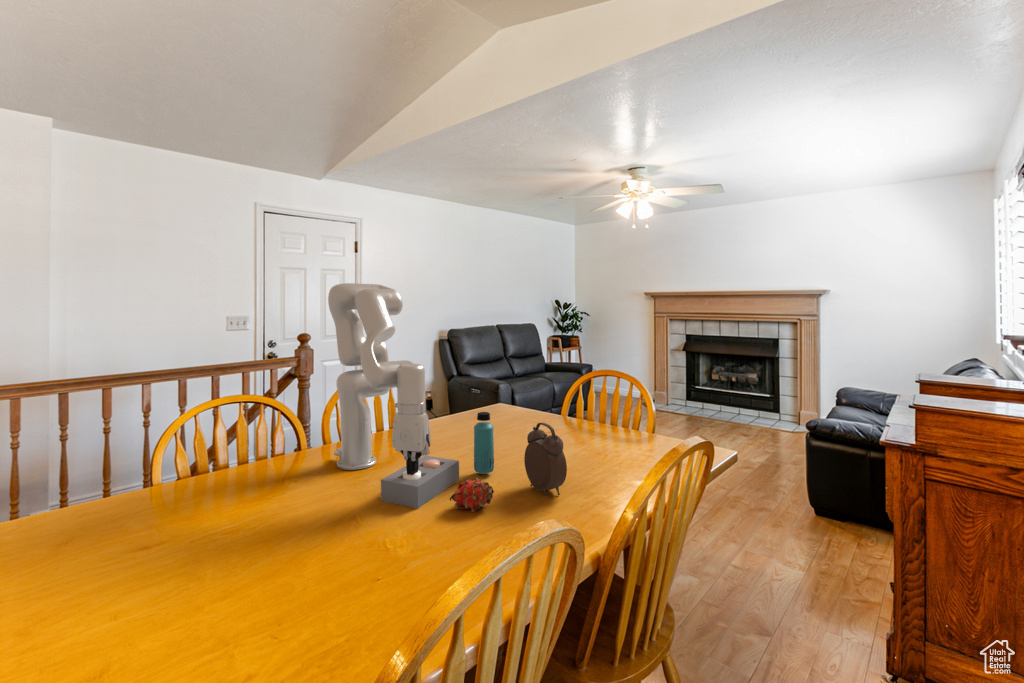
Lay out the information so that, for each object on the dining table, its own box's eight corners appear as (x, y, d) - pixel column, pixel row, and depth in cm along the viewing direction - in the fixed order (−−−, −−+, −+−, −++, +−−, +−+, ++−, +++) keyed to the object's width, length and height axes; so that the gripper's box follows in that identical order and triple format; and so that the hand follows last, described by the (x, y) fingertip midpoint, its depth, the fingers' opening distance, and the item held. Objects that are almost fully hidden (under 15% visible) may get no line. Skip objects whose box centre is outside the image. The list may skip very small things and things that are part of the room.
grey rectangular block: (381, 500, 129) (380, 479, 128) (425, 473, 149) (425, 455, 149) (418, 508, 124) (417, 486, 124) (459, 479, 145) (459, 460, 144)
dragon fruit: (497, 512, 126) (453, 524, 123) (489, 485, 132) (447, 495, 129) (498, 496, 120) (452, 507, 117) (490, 468, 126) (445, 478, 123)
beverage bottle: (491, 479, 145) (491, 415, 143) (470, 477, 146) (470, 414, 145) (496, 471, 152) (496, 410, 150) (476, 470, 153) (476, 409, 151)
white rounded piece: (399, 488, 131) (399, 474, 130) (410, 482, 135) (409, 468, 135) (414, 491, 129) (414, 477, 128) (424, 485, 133) (424, 471, 133)
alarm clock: (570, 497, 132) (571, 428, 130) (549, 502, 129) (550, 431, 127) (542, 480, 145) (542, 416, 143) (521, 484, 141) (522, 419, 139)
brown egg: (419, 476, 140) (419, 463, 139) (429, 471, 144) (429, 458, 144) (434, 479, 138) (434, 466, 138) (443, 473, 142) (443, 460, 142)
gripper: (380, 409, 129) (382, 473, 131) (426, 414, 123) (427, 482, 125) (397, 403, 136) (398, 465, 138) (442, 408, 130) (442, 472, 132)
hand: (412, 473), depth 131 cm, fingers closed
